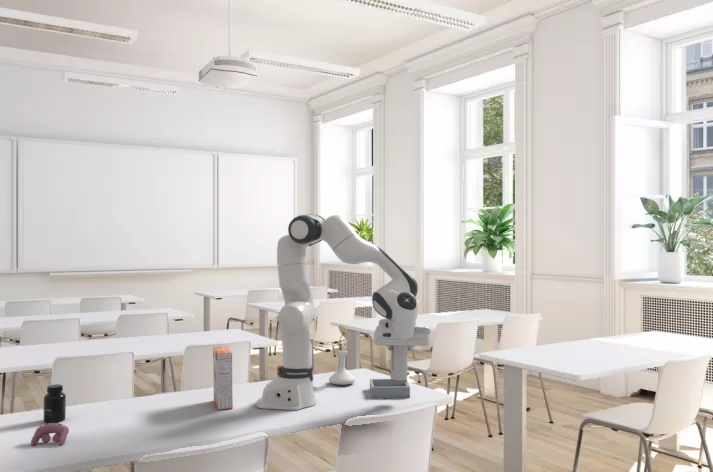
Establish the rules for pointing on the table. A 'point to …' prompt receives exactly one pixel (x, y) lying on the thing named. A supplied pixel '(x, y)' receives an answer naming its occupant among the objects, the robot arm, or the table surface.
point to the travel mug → (399, 363)
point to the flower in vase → (342, 363)
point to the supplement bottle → (54, 404)
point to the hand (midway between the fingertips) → (399, 349)
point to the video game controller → (51, 428)
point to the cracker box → (222, 377)
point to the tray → (388, 389)
